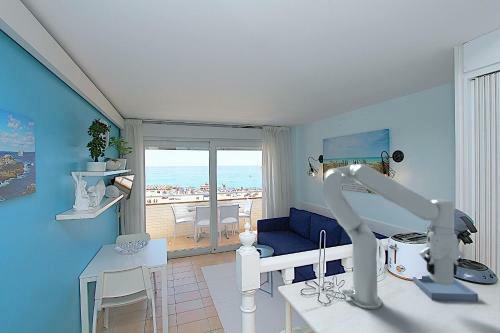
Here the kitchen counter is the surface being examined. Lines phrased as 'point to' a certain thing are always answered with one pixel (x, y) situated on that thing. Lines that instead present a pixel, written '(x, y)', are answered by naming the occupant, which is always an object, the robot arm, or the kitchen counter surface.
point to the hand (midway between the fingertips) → (441, 272)
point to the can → (443, 270)
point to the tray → (445, 290)
